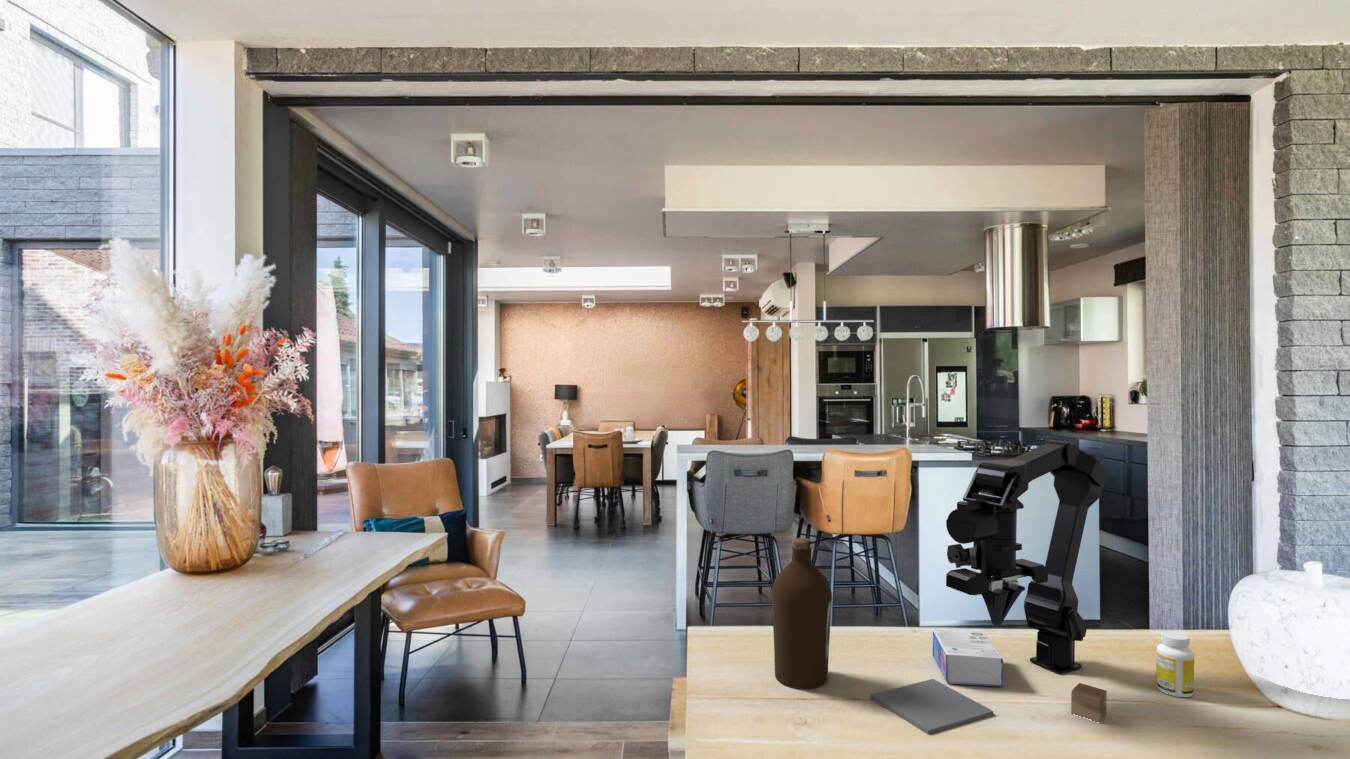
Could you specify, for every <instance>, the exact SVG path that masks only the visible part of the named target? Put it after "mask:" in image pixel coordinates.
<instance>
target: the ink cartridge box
mask: <svg viewBox="0 0 1350 759" xmlns="http://www.w3.org/2000/svg"><path fill="white" fill-rule="evenodd" d="M932 656H933V659H934V660H935V662H936V664H937V665H938V668H939V670H940V672H941V674H942V676H943V678H944V680H945V682H946V683H947V684H949V685H950V684H953V685H964V686H966V685H968V686H981V687H982V686H983V687H999V688H1002V687H1004V659H1003V657H1002V656H1001V654H1000V652H999V651H998V650H997V649H996V647H995V645H994V644H993V643H992V641H991V640H990V638H989V637H988V636H987V634H986V633H985V632H978V631H977V632H975V631H955V630H954V631H953V630H943V629H933V630H932Z"/></svg>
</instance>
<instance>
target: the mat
mask: <svg viewBox="0 0 1350 759" xmlns="http://www.w3.org/2000/svg"><path fill="white" fill-rule="evenodd" d="M870 699H871V700H874V701H875V702H876V703H877V704H879V705H881V706H883V707H884V708H886V709H888V710H889V711H891V712H892V713H894V714H895V715H897V716H899V717H900V718H901V719H904V720H905V721H906V722H908V723H910V724H911V725H912V726H914V727H916V728H917V729H919V730H920V731H922V732H924V733H926V734H927V735H929V734H933V733H936V732H937V733H938V732H940V731H943V730H946V729H949V728H954V727H957V726H959V725H963V724H966V723H967V724H968V723H970V722H973V721H977V720H981V719H983V718H987V717H990V716H993V715H994V710H992V709H991V708H989V707H987V706H985V705H983V704H981V703H980V702H978V701H975V700H974V699H971V698H970V697H968V696H966V695H964V694H962V693H960V692H958V691H956V690H955V689H954V688H951V687H950V686H947V685H945V684H944V683H942V682H940V681H938V680H936V679H934V678H931V679H926V680H923V681H919V682H916V683H912V684H907V685H903V686H900V687H895V688H891V689H887V690H884V691H879V692H876V693H872V694H870Z"/></svg>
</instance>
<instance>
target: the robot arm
mask: <svg viewBox="0 0 1350 759" xmlns="http://www.w3.org/2000/svg"><path fill="white" fill-rule="evenodd" d="M1048 473H1050V474H1051V475H1052V476H1053V477H1054V478H1053V488H1054V490H1055V493H1056V494H1057V495H1056V496H1057V498H1058V506H1057V511H1056V515H1055V519H1054V525H1053V528H1052V533H1051V537H1050V542H1049V546H1048V551H1047V554H1046V555H1047V556H1046V558H1045V559H1046V560H1045V563H1044V564H1041V563H1038V562H1035V561H1033V560H1029V559H1025V558H1017V552H1018V551H1022V549H1023V548H1022V547H1023V544H1022V543H1019V542H1017V526H1018V524H1017V521H1018V519H1017V518H1018V516H1017V515H1018V511H1017V510H1021V509H1024V507H1025V505H1024V504H1023V503H1022V502H1021V501H1020V500H1019V499H1018V498H1020V497H1021V496H1022V495H1023V494H1025V492H1027V491H1028V490H1029V486H1030V485H1029V484H1030V482H1032V481H1034V480H1036V479H1038V478H1041V477H1043V476H1045V475H1046V474H1048ZM1108 475H1109V474H1108V470H1107V469H1106V468H1105V466H1104V465H1103V463H1101V461H1099V459H1098V458H1096V457H1094V456H1092V455H1091V454H1088V453H1087V452H1085V451H1083V450H1081V449H1080V448H1079V447H1078V445H1077V444H1075V443H1072V442H1070V441H1061V440H1053V439H1050V440H1048V441H1045V442H1044V443H1043V444H1042V445H1040V446H1038V447H1036V448H1033V449H1031V450H1029V451H1027V452H1024V453H1023V454H1020V455H1018V456H1015V457H1013V458H1010V459H994V460H987V461H983V462H981V463H980V464H978V466H977V467H976V470H975V471H974V472H973V475H972V477H971V480H970V482H969V484H968V486H967V489H966V490H965V492H964V495H963V497H962V501H957V502H956V509H953V510H951V511H950V513H949V514H948V516H947V518H946V521H945V522H946V523H945V526H946V531H947V533H948V535H949V536H950V537H951V539H952V540H953V541H955V542H957V544H950V545H947V550H946V556H947V561H948V562H949V563H950V564H955V569H951V570H949V571H948V572H947V573H946V574H945V586H946V587H948V588H950V589H953V590H955V591H958V592H960V593H963V594H966V595H969V596H980V595H981V597H982V599H983V601H984V604H985V606H986V609H987V612H988V615H989V619H990V621H991V623H992V626H995V627H1001V626H1002V624H1003V622H1004V621H1005V618H1007V615H1008V613H1010V611H1011V608H1012V607H1013V605H1014V604H1015V602H1016V601H1017V600H1018V598H1019V597H1020V595H1021V593H1022V592H1024V591H1025V590H1026V586H1022V585H1019V581H1018V579H1020V578H1021V579H1022V578H1026V577H1031V580H1030V582H1029V583H1028V585H1027V591H1026V595H1025V597H1024V600H1023V601H1024V603H1023V610H1024V615H1025V620H1026V625H1027V627H1028V628H1029V629H1034V630H1036V631H1037V633H1036V634H1037V636H1036V638H1037V639H1036V642H1035V643H1036V644H1035V645H1036V646H1035V650H1036V651H1035V656H1032V657H1030V658H1029V661H1030V662H1032V663H1034V664H1035V665H1038V666H1040V667H1043V668H1045V669H1047V670H1049V671H1052V672H1054V673H1055V674H1056V673H1057V674H1059V675H1060V674H1061V675H1062V674H1064V673H1068V672H1069V673H1070V672H1072V671H1075V670H1079V669H1082V668H1083V664H1082V663H1079V662H1077V661H1075V660H1076V659H1075V656H1076V655H1075V654H1076V652H1075V648H1076V647H1075V646H1076V642H1083V641H1084V638H1085V637H1086V634H1087V629H1088V625H1087V623H1086V621H1084V619H1083V617H1082V616H1081V614H1080V612H1078V609H1079V608H1078V607H1079V598H1078V596H1077V594H1076V591H1075V588H1074V586H1073V580H1074V575H1075V572H1076V566H1077V564H1078V563H1077V562H1078V557H1079V553H1080V549H1081V545H1082V544H1081V543H1082V539H1083V535H1084V534H1083V533H1084V530H1085V525H1086V522H1087V521H1086V520H1087V516H1088V512H1089V508H1091V506H1093V505H1094V504H1095V503H1096V502H1097V501H1098V500H1099V499H1100V498H1101V497H1102V494H1103V492H1104V491H1103V490H1104V487H1105V485H1106V484H1107V483H1108V478H1109V476H1108ZM971 543H973V546H972V547H967V548H966V547H965V548H964V547H963V545H962V544H964V545H965V544H971ZM966 566H967V567H970V569H968V568H965V567H966ZM961 567H963V568H961ZM971 569H972V570H971ZM976 570H978V571H979V572H977V571H976Z"/></svg>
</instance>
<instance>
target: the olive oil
mask: <svg viewBox="0 0 1350 759" xmlns="http://www.w3.org/2000/svg"><path fill="white" fill-rule="evenodd" d="M792 544H793V546H791V548H792V550H791V552H792V554H791V556H792V558H791V559H792V560H790V562H789V563H788V564H787V565H786V566H785V567H784V568H783V569H782V570H781V571H780V572H779V573H778V574H777V575H776V577H775V579H774V581H773V584H772V589H771V605H772V606H771V607H772V608H771V609H772V627H773V650H774V652H773V654H774V677H775V679H776V681H778V682H779V683H781V684H783V685H784V686H786V687H790V688H794V689H801V690H808V689H811V690H812V689H817V688H820V687H822V686H824V685H825V684H826V683H827V682H828V680H829V654H830V640H831V639H830V636H831V635H830V634H831V619H832V617H831V616H832V603H833V596H832V595H833V594H832V589H831V588H832V587H831V586H830V583H829V580H828V579H827V577H826V576H825V574H824V573H822V572H821V570H820V569H819V568H818V567H817V566H816V565H815V563H813V561H812V547H811V544H812V541H811V539H810V538H805V537H796V538H793V539H792Z"/></svg>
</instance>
